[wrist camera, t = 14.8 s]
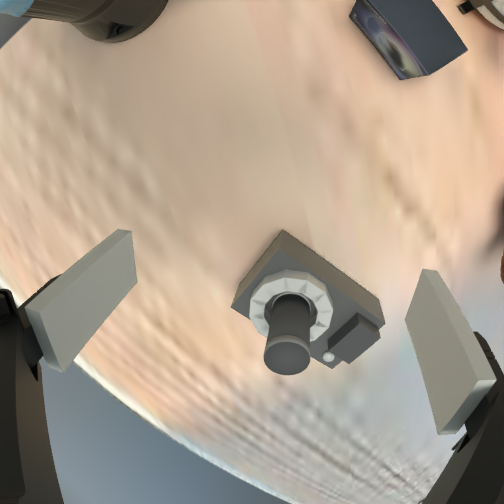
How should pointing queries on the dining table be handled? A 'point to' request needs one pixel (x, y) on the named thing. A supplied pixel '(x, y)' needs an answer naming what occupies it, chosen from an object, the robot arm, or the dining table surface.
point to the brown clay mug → (502, 268)
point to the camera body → (312, 300)
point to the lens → (288, 334)
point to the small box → (409, 35)
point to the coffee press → (487, 10)
